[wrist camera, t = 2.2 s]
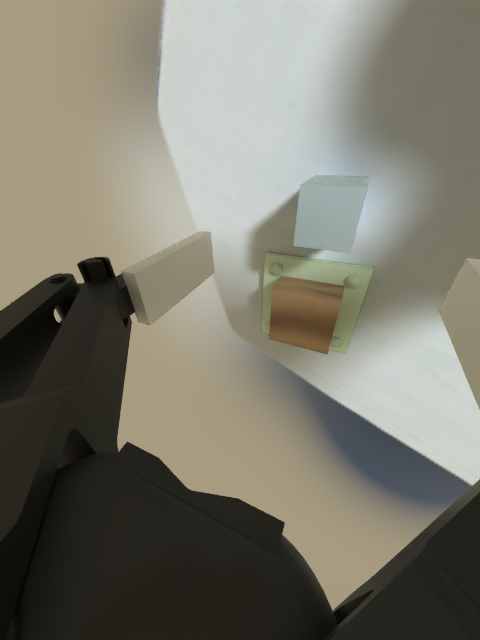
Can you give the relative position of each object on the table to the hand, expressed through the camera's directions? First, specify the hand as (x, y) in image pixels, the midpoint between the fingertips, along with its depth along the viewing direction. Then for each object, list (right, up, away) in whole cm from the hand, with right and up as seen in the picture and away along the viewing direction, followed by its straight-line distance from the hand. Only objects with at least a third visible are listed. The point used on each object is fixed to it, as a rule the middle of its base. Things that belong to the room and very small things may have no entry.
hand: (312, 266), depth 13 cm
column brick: (+6, +10, +12) cm, 17 cm away
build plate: (+6, -1, +20) cm, 21 cm away
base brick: (+5, -1, +20) cm, 20 cm away
